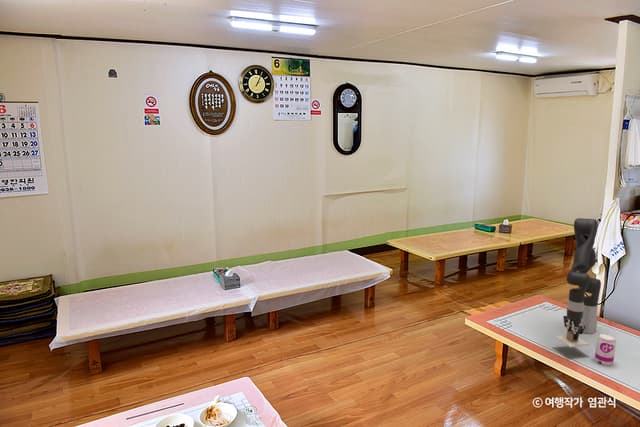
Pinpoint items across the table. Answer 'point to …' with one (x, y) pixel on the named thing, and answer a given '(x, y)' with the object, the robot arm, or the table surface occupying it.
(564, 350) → the rubber mat
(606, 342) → the supplement can
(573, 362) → the table surface
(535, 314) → the table surface
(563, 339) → the board
